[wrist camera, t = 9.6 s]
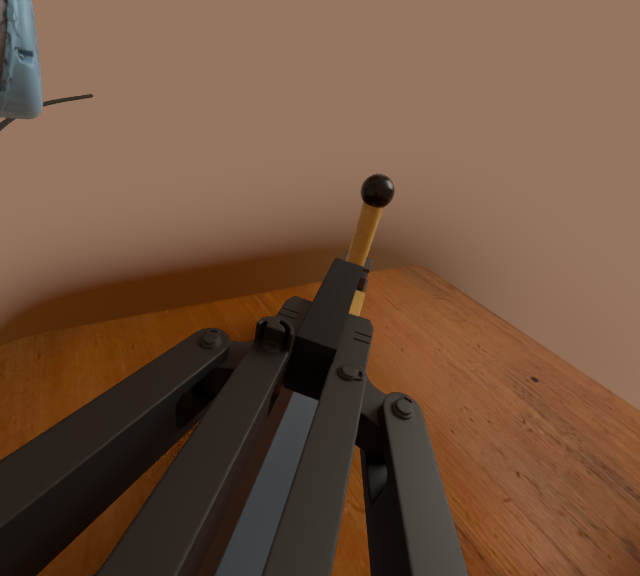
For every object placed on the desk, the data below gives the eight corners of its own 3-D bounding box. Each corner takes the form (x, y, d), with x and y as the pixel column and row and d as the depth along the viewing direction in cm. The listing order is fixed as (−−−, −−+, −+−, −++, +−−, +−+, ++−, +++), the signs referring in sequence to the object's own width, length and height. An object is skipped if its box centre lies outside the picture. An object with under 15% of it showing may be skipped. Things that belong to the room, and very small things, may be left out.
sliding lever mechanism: (257, 843, 11) (311, 898, 6) (83, 749, 12) (2, 730, 7) (367, 335, 36) (395, 262, 31) (308, 314, 36) (326, 240, 31)
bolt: (353, 312, 25) (398, 183, 20) (327, 303, 25) (364, 173, 20) (365, 272, 31) (402, 164, 26) (344, 265, 31) (376, 157, 26)
